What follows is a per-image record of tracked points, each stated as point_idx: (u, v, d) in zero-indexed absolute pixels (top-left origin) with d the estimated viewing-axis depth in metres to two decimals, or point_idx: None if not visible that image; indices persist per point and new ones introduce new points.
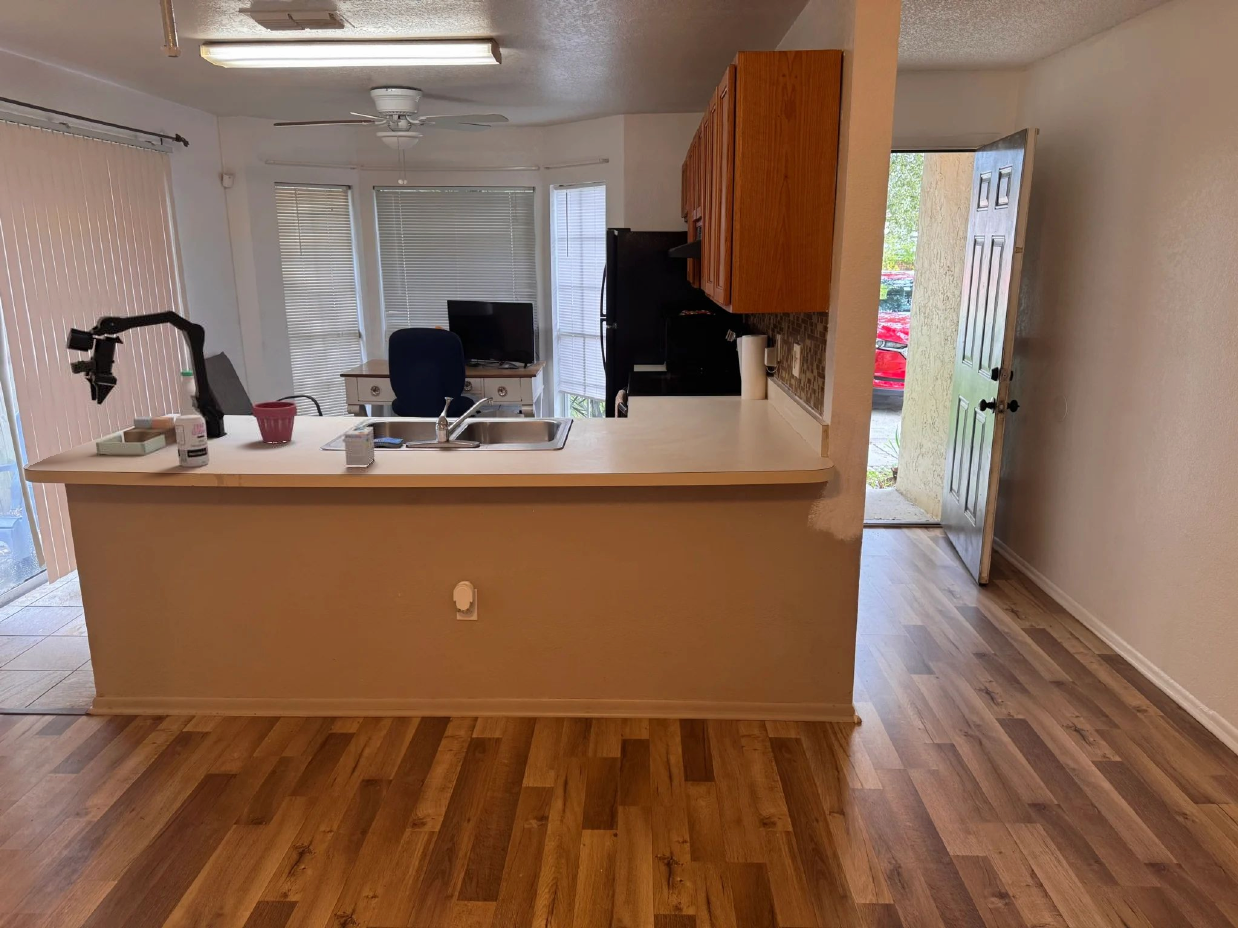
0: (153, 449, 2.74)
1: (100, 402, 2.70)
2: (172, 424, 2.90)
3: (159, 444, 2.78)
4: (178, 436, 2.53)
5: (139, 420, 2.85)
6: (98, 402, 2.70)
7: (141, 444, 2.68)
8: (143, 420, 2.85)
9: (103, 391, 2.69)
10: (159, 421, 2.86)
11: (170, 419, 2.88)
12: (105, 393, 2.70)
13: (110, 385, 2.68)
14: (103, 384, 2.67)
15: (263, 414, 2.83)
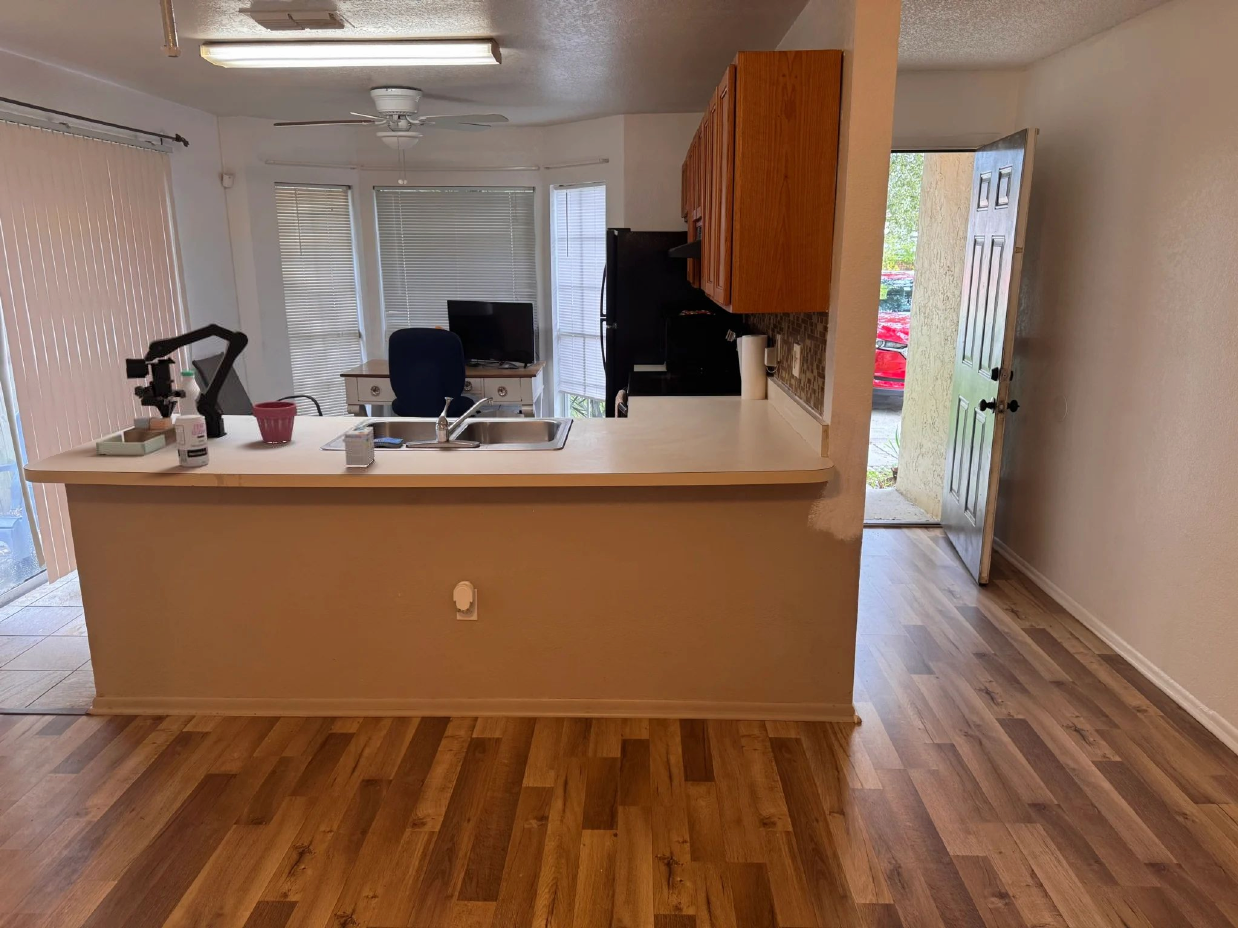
0: (153, 449, 2.74)
1: None
2: (170, 425, 2.88)
3: (159, 444, 2.78)
4: (178, 436, 2.53)
5: (139, 420, 2.85)
6: None
7: (141, 444, 2.68)
8: (143, 420, 2.85)
9: (164, 410, 2.88)
10: (157, 421, 2.84)
11: (168, 420, 2.87)
12: (165, 411, 2.88)
13: (163, 404, 2.86)
14: None
15: (263, 414, 2.83)
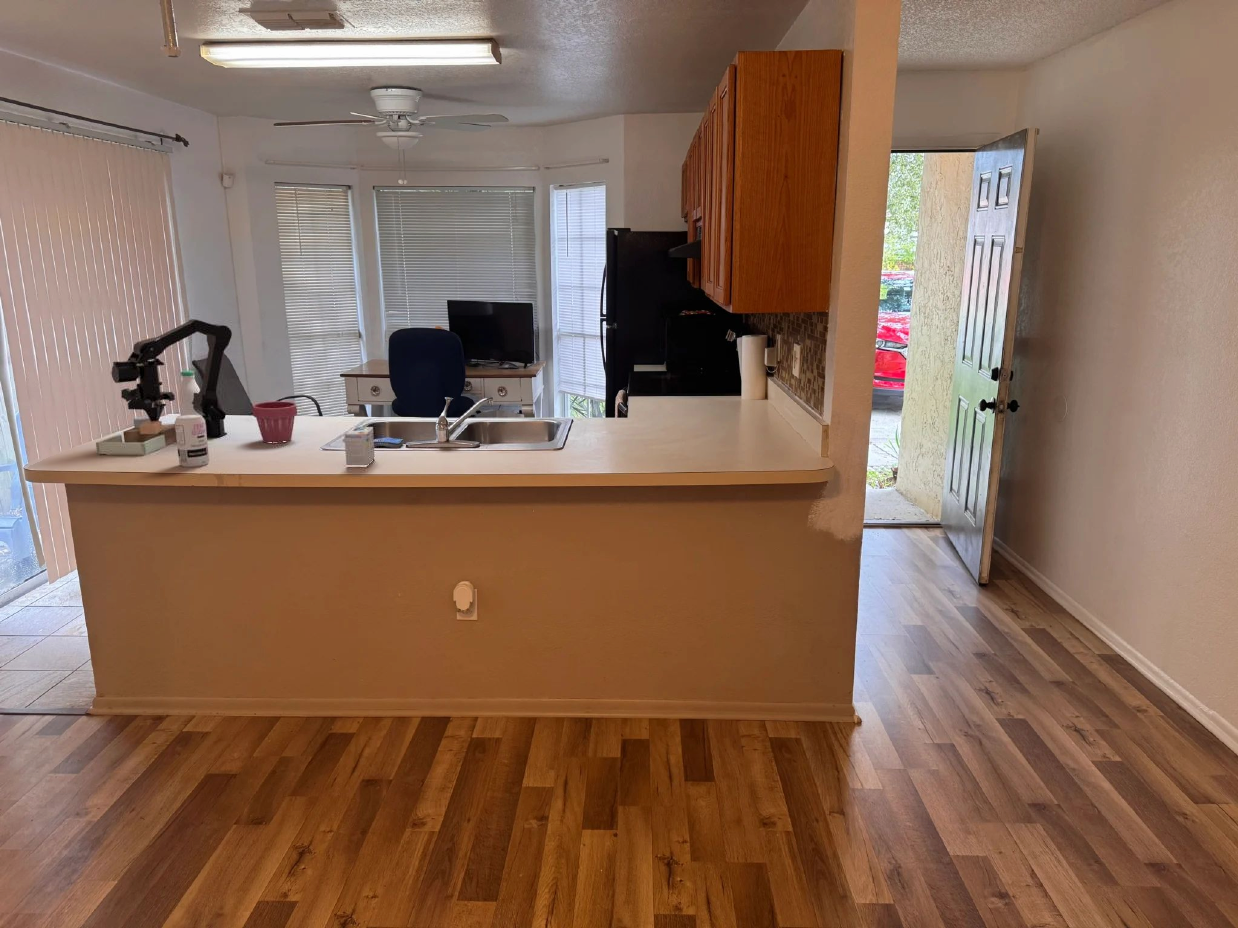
0: (153, 449, 2.74)
1: None
2: (160, 428, 2.82)
3: (159, 444, 2.78)
4: (178, 436, 2.53)
5: (139, 420, 2.85)
6: None
7: (141, 444, 2.68)
8: (143, 420, 2.85)
9: (152, 413, 2.81)
10: (147, 426, 2.77)
11: (158, 424, 2.80)
12: (154, 415, 2.81)
13: (151, 407, 2.78)
14: None
15: (263, 414, 2.83)
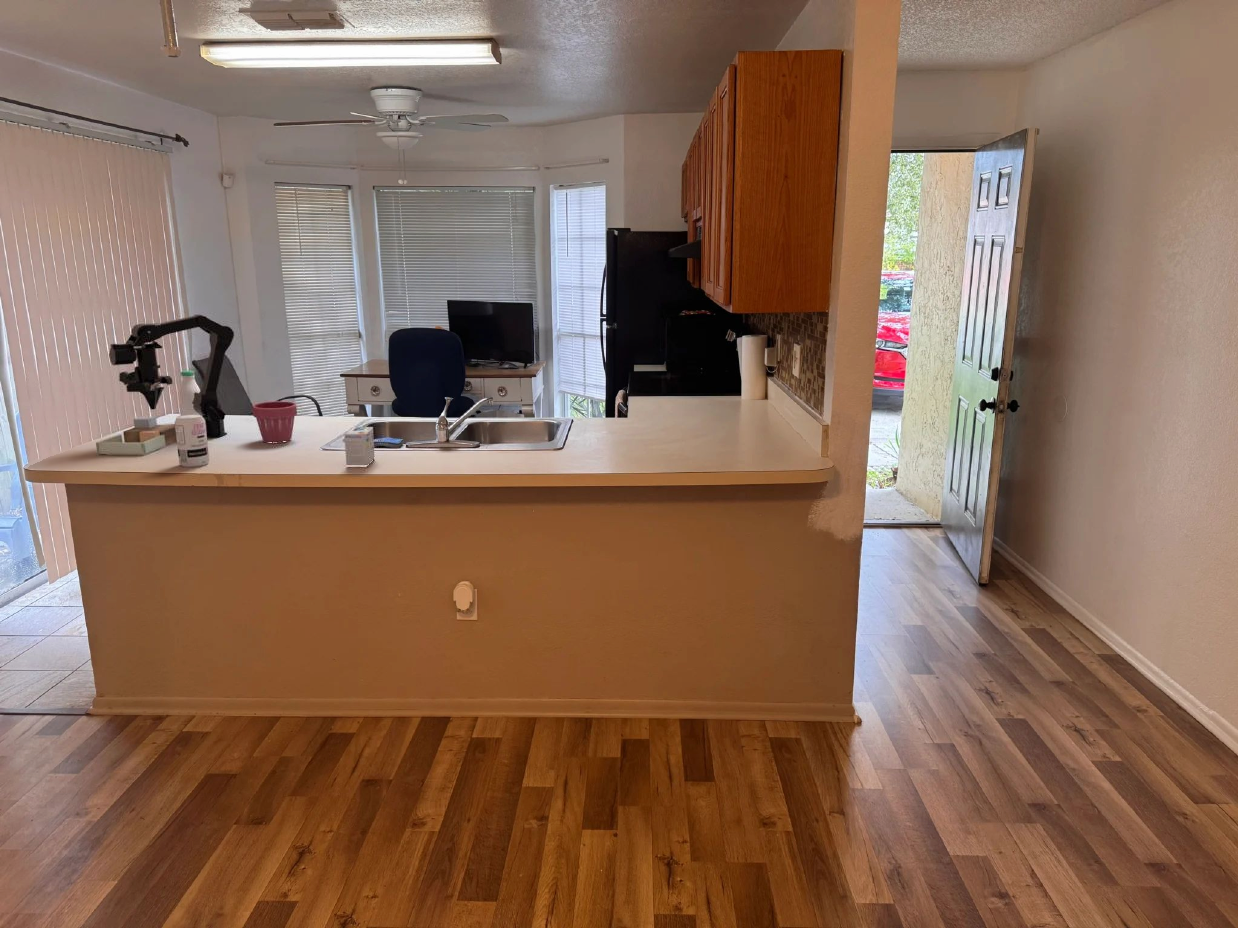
0: (153, 449, 2.74)
1: (152, 407, 2.82)
2: (158, 435, 2.79)
3: (159, 444, 2.78)
4: (178, 436, 2.53)
5: (139, 420, 2.85)
6: (151, 407, 2.82)
7: (141, 444, 2.68)
8: (143, 420, 2.85)
9: (150, 396, 2.80)
10: None
11: None
12: (152, 398, 2.80)
13: (150, 390, 2.78)
14: None
15: (263, 414, 2.83)
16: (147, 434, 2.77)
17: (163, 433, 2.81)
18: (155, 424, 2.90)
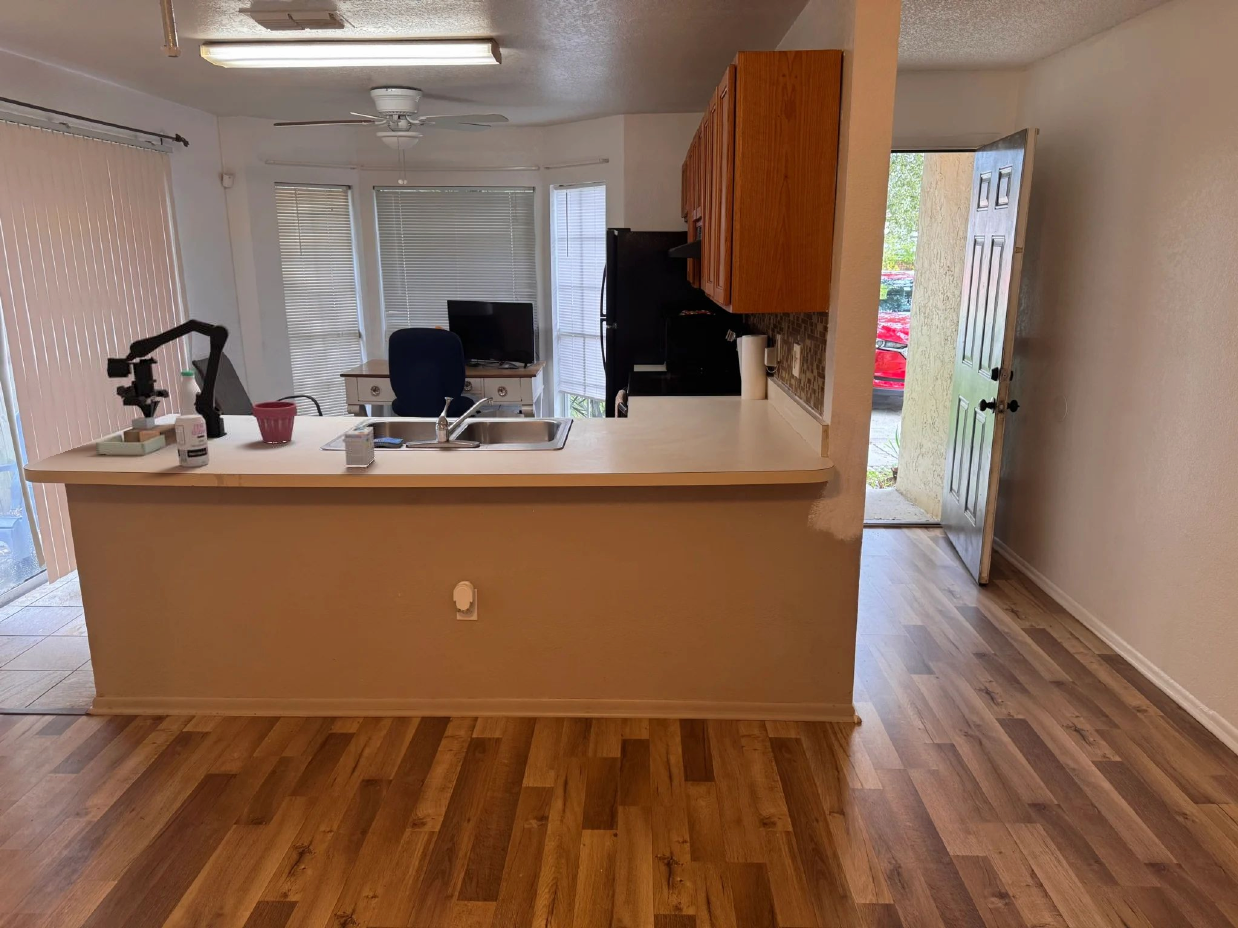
0: (153, 449, 2.74)
1: None
2: (158, 435, 2.79)
3: (159, 444, 2.78)
4: (178, 436, 2.53)
5: (137, 421, 2.84)
6: None
7: (141, 444, 2.68)
8: (141, 421, 2.84)
9: (146, 410, 2.88)
10: None
11: None
12: (148, 411, 2.88)
13: (146, 404, 2.86)
14: None
15: (263, 414, 2.83)
16: (147, 434, 2.77)
17: (163, 433, 2.81)
18: (153, 425, 2.89)
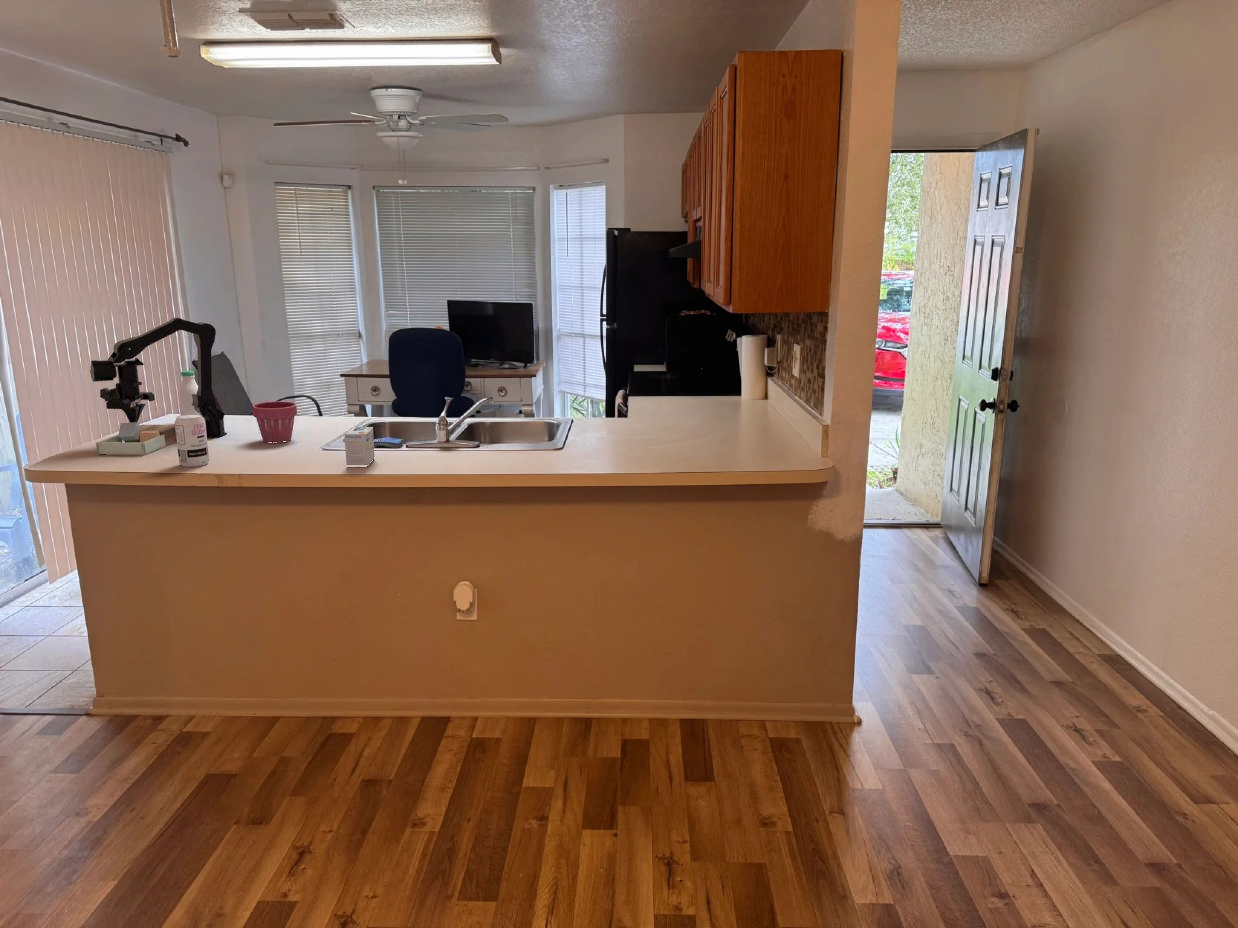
0: (153, 449, 2.74)
1: None
2: (158, 435, 2.79)
3: (159, 444, 2.78)
4: (178, 436, 2.53)
5: (125, 437, 2.76)
6: None
7: (141, 444, 2.68)
8: (129, 436, 2.76)
9: (131, 413, 2.79)
10: None
11: None
12: (132, 415, 2.79)
13: (130, 407, 2.76)
14: None
15: (263, 414, 2.83)
16: (147, 434, 2.77)
17: (163, 433, 2.81)
18: (139, 428, 2.80)
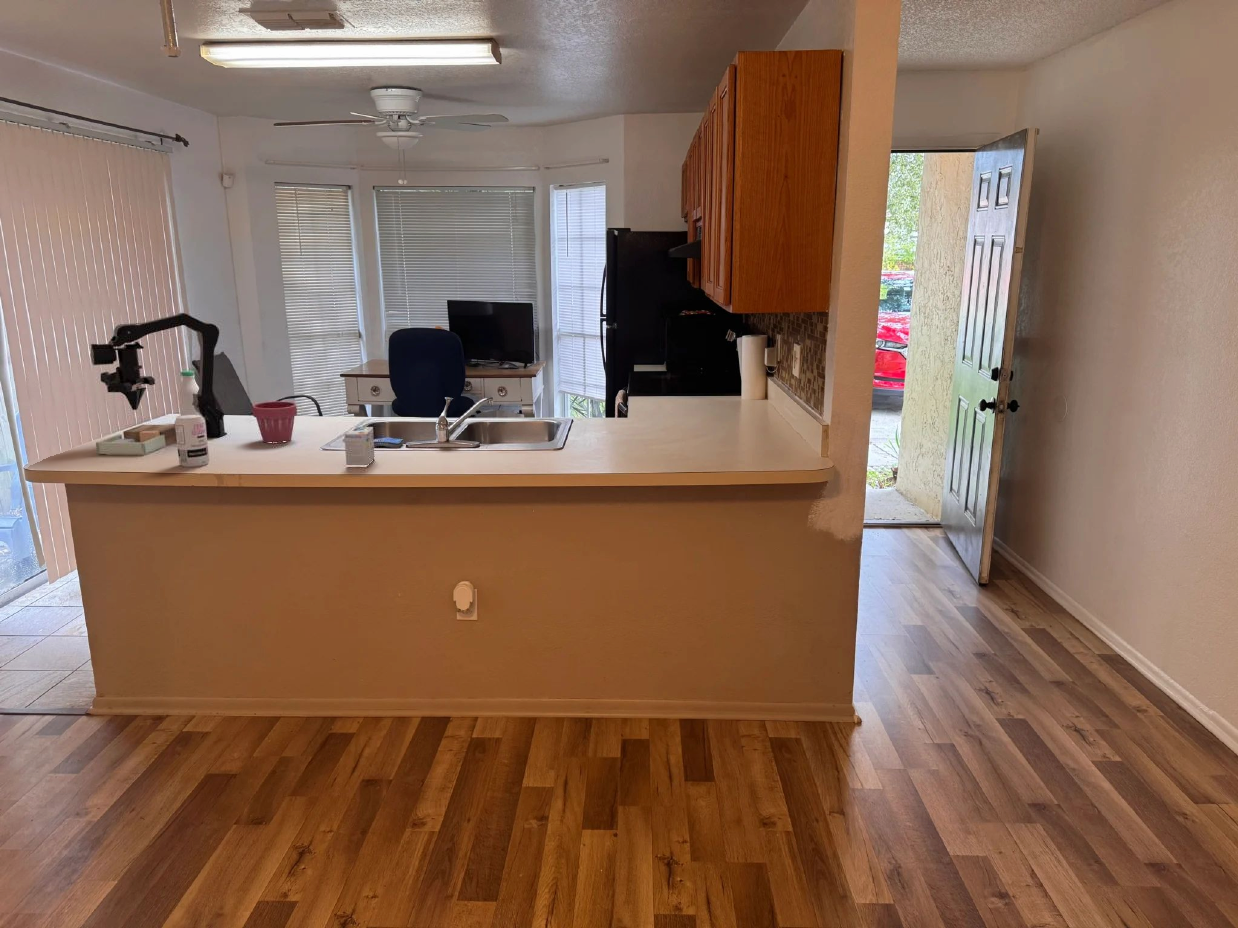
0: (153, 449, 2.74)
1: (134, 408, 2.81)
2: (158, 435, 2.79)
3: (159, 444, 2.78)
4: (178, 436, 2.53)
5: None
6: (133, 408, 2.81)
7: (141, 444, 2.68)
8: None
9: (132, 397, 2.79)
10: None
11: None
12: (133, 398, 2.79)
13: (131, 391, 2.76)
14: None
15: (263, 414, 2.83)
16: (147, 434, 2.77)
17: (163, 433, 2.81)
18: None
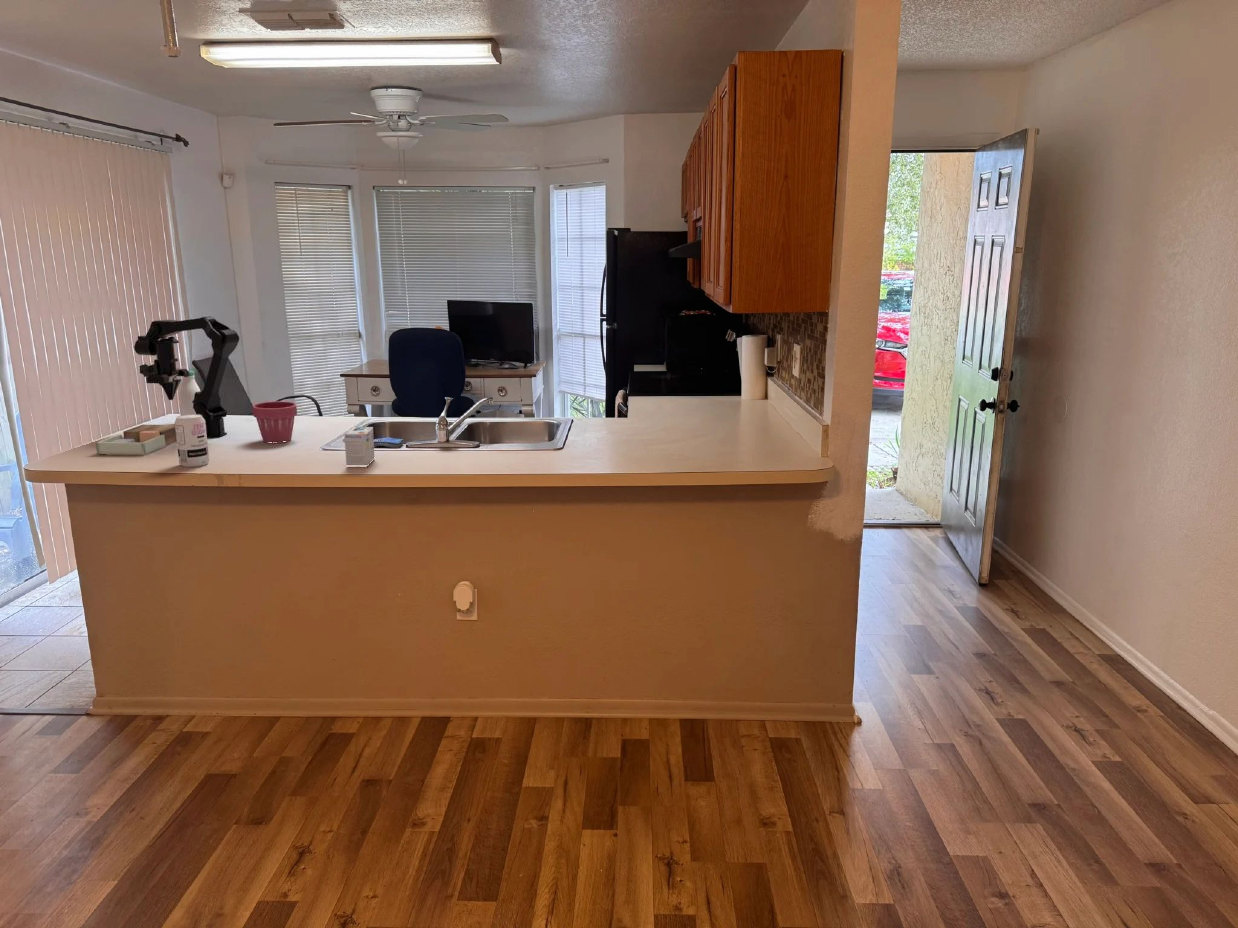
0: (153, 449, 2.74)
1: (170, 398, 2.99)
2: (158, 435, 2.79)
3: (159, 444, 2.78)
4: (178, 436, 2.53)
5: None
6: (169, 398, 2.99)
7: (141, 444, 2.68)
8: None
9: (168, 388, 2.98)
10: None
11: None
12: (170, 389, 2.98)
13: (168, 382, 2.95)
14: None
15: (263, 414, 2.83)
16: (147, 434, 2.77)
17: (163, 433, 2.81)
18: None
